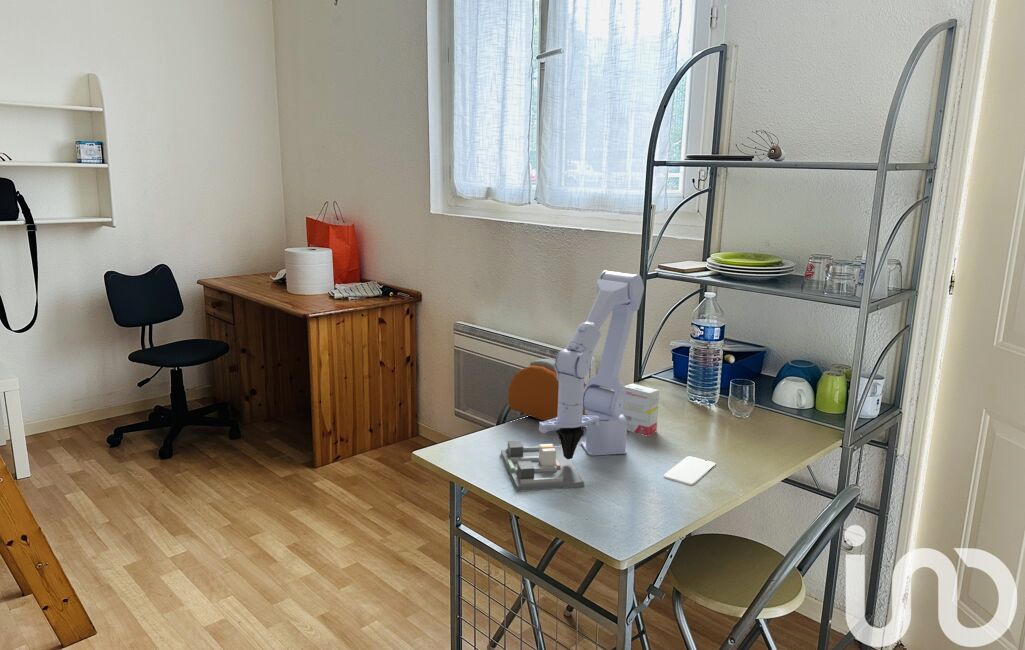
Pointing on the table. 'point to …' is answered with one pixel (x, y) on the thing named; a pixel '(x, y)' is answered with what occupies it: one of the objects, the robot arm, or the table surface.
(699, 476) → the smartphone
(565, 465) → the breaker board
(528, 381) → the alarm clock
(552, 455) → the handle
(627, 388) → the ink box
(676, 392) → the table surface
